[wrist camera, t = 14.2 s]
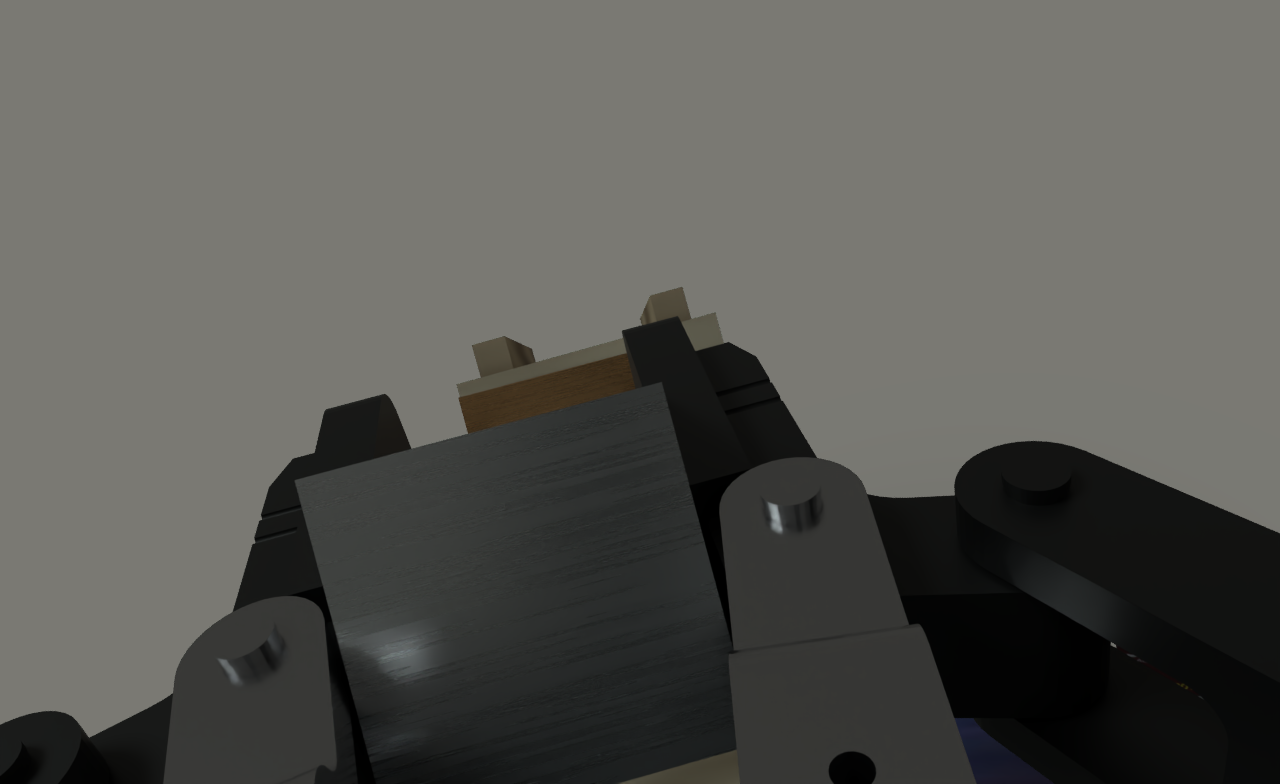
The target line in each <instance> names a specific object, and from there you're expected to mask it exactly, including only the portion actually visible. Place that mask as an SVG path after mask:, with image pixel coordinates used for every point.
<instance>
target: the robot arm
mask: <svg viewBox="0 0 1280 784" xmlns="http://www.w3.org/2000/svg"><path fill="white" fill-rule="evenodd" d="M622 334H623V339H624V344H625V348H626V352H627V356H628V360H629V365H630V369H631V373H632V377H633V381H634V385H635V389H637V388H641V387H645V386H649V385H652V384H656V383H660V382H662V385H663V389H664V393H665V396H666V400H667V404H668V408H669V411H670V415H671V419H672V423H673V426H674V430H675V434H676V437H677V441H678V445H679V449H680V452H681V456H682V460H683V464H684V467H685V471H686V475H687V479H688V482H689V486H690V490H691V494H692V497H693V501H694V505H695V509H696V512H697V516H698V520H699V523H700V527H701V531H702V535H703V538H704V542H705V546H706V550H707V553H708V557H709V561H710V565H711V568H712V572H713V576H714V580H715V583H716V587H717V591H718V595H719V598H720V602H721V606H722V610H723V613H724V617H725V621H726V624H727V628H728V632H729V636H730V639H731V643H732V647H733V650H730V651H729V674H730V684H731V695H732V705H733V715H734V726H735V736H736V747H737V757H738V767H739V778H740V784H976V781H975V778H974V775H973V772H972V769H971V766H970V763H969V760H968V757H967V755H966V752H965V749H964V746H963V743H962V740H961V737H960V734H959V731H958V728H957V725H956V722H955V719H954V718H974V720H975V721H976V723H977V724H978V725H979V726H980V727H981V729H983V730H984V731H985V732H986V733H987V734H988V735H990V736H991V737H992V738H993V739H995V740H996V741H998V742H999V743H1000V744H1002V745H1003V746H1004V747H1006V748H1007V749H1008V750H1010V751H1011V752H1012V753H1014V754H1015V755H1017V756H1018V757H1019V758H1021V759H1022V760H1023V761H1025V762H1026V763H1027V764H1029V765H1030V766H1031V767H1033V768H1034V769H1035V770H1037V771H1038V772H1040V773H1041V774H1042V775H1044V776H1045V777H1046V778H1048V779H1049V780H1050V781H1052V782H1053V783H1054V784H1280V533H1278V532H1275V531H1273V530H1270V529H1268V528H1266V527H1264V526H1261V525H1259V524H1257V523H1254V522H1252V521H1249V520H1247V519H1245V518H1242V517H1240V516H1238V515H1235V514H1233V513H1231V512H1228V511H1226V510H1224V509H1221V508H1219V507H1216V506H1214V505H1212V504H1209V503H1207V502H1205V501H1202V500H1200V499H1198V498H1195V497H1193V496H1190V495H1188V494H1186V493H1183V492H1181V491H1179V490H1176V489H1174V488H1172V487H1169V486H1167V485H1164V484H1162V483H1159V482H1157V481H1155V480H1153V479H1150V478H1147V477H1146V476H1143V475H1141V474H1138V473H1136V472H1134V471H1131V470H1129V469H1127V468H1124V467H1122V466H1120V465H1117V464H1115V463H1112V462H1110V461H1108V460H1105V459H1103V458H1101V457H1098V456H1096V455H1094V454H1091V453H1089V452H1087V451H1084V450H1081V449H1078V448H1075V447H1072V446H1068V445H1064V444H1059V443H1052V442H1042V441H1025V442H1015V443H1008V444H1003V445H1000V446H996V447H993V448H990V449H988V450H985V451H982V452H981V453H979V454H977V455H976V456H974V457H972V458H971V459H970V460H968V461H967V462H966V463H965V464H964V465H963V466H962V468H961V469H960V470H959V472H958V474H957V476H956V479H955V485H954V488H955V496H935V497H917V498H916V497H915V498H889V497H879V496H874V495H868V494H867V493H866V490H865V487H864V485H863V483H862V481H861V480H860V479H859V478H858V476H857V475H856V474H854V473H853V472H852V471H851V470H849V469H848V468H846V467H844V466H842V465H840V464H838V463H835V462H832V461H828V460H824V459H819V458H817V457H816V455H815V454H814V452H813V451H812V449H811V447H810V445H809V444H808V442H807V440H806V439H805V437H804V435H803V434H802V432H801V430H800V429H799V427H798V425H797V424H796V422H795V421H794V419H793V417H792V416H791V414H790V412H789V410H788V409H787V407H786V405H785V404H784V402H783V401H781V399H780V395H779V394H778V392H777V390H776V389H775V387H774V385H773V384H772V383H770V380H769V377H768V375H767V374H766V372H765V370H764V369H763V367H762V365H761V364H760V362H759V360H758V359H757V357H756V356H754V355H752V354H750V353H748V352H747V351H745V350H743V349H741V348H739V347H737V346H735V345H733V344H731V343H729V342H727V343H724V344H720V345H716V346H712V347H709V348H705V349H701V350H697V351H695V349H694V347H693V345H692V343H691V341H690V339H689V337H688V335H687V333H686V331H685V329H684V327H683V325H682V322H681V320H680V319H679V317H678V316H675V317H672V318H668V319H664V320H660V321H657V322H653V323H649V324H645V325H642V326H638V327H634V328H630V329H627V330H623V331H622ZM409 449H411V447H410V444H409V442H408V439H407V436H406V434H405V431H404V429H403V426H402V424H401V421H400V419H399V416H398V414H397V411H396V409H395V407H394V405H393V403H392V401H391V399H390V398H389V397H388V396H387V395H386V394H382V395H379V396H375V397H371V398H367V399H364V400H360V401H356V402H352V403H349V404H345V405H341V406H337V407H334V408H330V409H326V410H325V412H324V415H323V419H322V424H321V428H320V432H319V437H318V441H317V445H316V449H315V453H313V454H309V455H305V456H301V457H298V458H294V459H292V461H291V462H290V463H289V464H288V465H287V467H286V468H285V469H284V470H283V471H282V473H281V474H280V475H279V476H278V477H277V479H276V480H275V481H274V482H273V483H272V485H271V486H270V487H269V489H268V493H267V497H266V500H265V503H264V507H263V510H262V513H261V516H262V520H260V521H259V524H258V527H257V531H256V534H255V537H254V538H255V542H256V543H255V544H253V545H252V548H251V551H250V555H249V558H248V561H247V565H246V568H245V572H244V575H243V579H242V582H241V585H240V589H239V592H238V596H237V599H236V603H235V606H234V609H233V612H232V613H231V614H229V615H227V616H225V617H224V618H222V619H221V620H219V621H218V622H216V623H215V624H213V625H212V626H211V627H210V628H208V629H207V630H206V631H205V632H204V633H203V634H202V635H201V636H200V637H198V639H196V641H195V642H194V643H193V644H192V645H191V646H190V648H189V649H188V650H187V651H186V653H185V655H184V656H183V658H182V659H181V661H180V664H179V666H178V668H177V671H176V675H175V681H174V691H173V694H171V695H170V696H168V697H167V698H165V699H164V700H162V701H160V702H159V703H157V704H155V705H153V706H151V707H149V708H148V709H145V710H144V711H142V712H140V713H138V714H136V715H134V716H132V717H130V718H128V719H126V720H124V721H122V722H120V723H118V724H116V725H114V726H112V727H110V728H108V729H106V730H104V731H102V732H100V733H98V734H96V735H94V736H92V737H90V738H89V737H88V736H87V735H86V733H85V732H84V730H83V729H82V728H81V726H80V725H79V724H78V722H77V721H76V720H75V719H74V718H73V717H72V716H70V715H68V714H66V713H61V712H57V711H44V712H38V713H32V714H28V715H25V716H21V717H18V718H16V719H13V720H10V721H8V722H5V723H3V724H1V725H0V784H376V781H375V778H374V774H373V770H372V767H371V763H370V759H369V755H368V752H367V748H366V744H365V741H364V737H363V733H362V729H361V726H360V722H359V718H358V714H357V711H356V707H355V703H354V700H353V696H352V692H351V688H350V685H349V681H348V677H347V674H346V670H345V666H344V662H343V659H342V655H341V651H340V648H339V644H338V640H337V636H336V633H335V629H334V625H333V621H332V618H331V614H330V610H329V607H328V603H327V599H326V595H325V592H324V588H323V584H322V581H321V577H320V573H319V569H318V566H317V562H316V558H315V555H314V551H313V547H312V543H311V540H310V536H309V532H308V528H307V525H306V521H305V517H304V514H303V510H302V506H301V502H300V499H299V495H298V491H297V488H296V484H295V480H297V479H301V478H305V477H308V476H312V475H316V474H320V473H323V472H327V471H331V470H335V469H338V468H342V467H346V466H350V465H353V464H357V463H361V462H365V461H368V460H372V459H376V458H380V457H383V456H387V455H391V454H394V453H398V452H402V451H406V450H409ZM1111 642H1112V643H1114V644H1115V645H1117V646H1119V647H1121V648H1122V649H1124V650H1126V651H1128V652H1129V653H1131V654H1133V655H1134V656H1136V657H1138V658H1140V659H1141V660H1143V661H1145V662H1147V663H1148V664H1150V665H1152V666H1153V667H1155V668H1157V669H1159V670H1160V671H1162V672H1164V673H1166V674H1167V675H1169V676H1171V677H1172V678H1174V679H1176V680H1178V681H1179V682H1181V683H1183V684H1184V685H1186V686H1187V687H1189V688H1191V689H1192V690H1193V691H1195V692H1196V693H1197V694H1198V695H1200V696H1201V697H1202V698H1203V699H1202V698H1200V697H1199V696H1197V695H1195V694H1194V693H1192V692H1190V691H1188V690H1187V689H1185V688H1183V687H1182V686H1180V685H1178V684H1176V683H1175V682H1173V681H1171V680H1170V679H1168V678H1166V677H1164V676H1163V675H1161V674H1159V673H1158V672H1156V671H1154V670H1152V669H1151V668H1149V667H1147V666H1146V665H1144V664H1142V663H1140V662H1139V661H1137V660H1135V659H1134V658H1132V657H1130V656H1128V655H1127V654H1125V653H1123V652H1122V651H1120V650H1118V649H1116V648H1115V647H1113V646H1111Z"/></svg>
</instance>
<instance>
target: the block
mask: <svg viewBox="0 0 1280 784" xmlns="http://www.w3.org/2000/svg"><path fill="white" fill-rule="evenodd" d="M459 402H460V405H461V409H462V413H463V416H464V420H465V423H466V428H467V431H468V434H465V435H462V436H458V437H454V438H451V439H447V440H443V441H440V442H436V443H432V444H428V445H424V446H421V447H417V448H413V449H409V450H406V451H402V452H398V453H394V454H391V455H387V456H383V457H380V458H376V459H372V460H368V461H365V462H361V463H357V464H353V465H350V466H346V467H342V468H338V469H335V470H331V471H327V472H323V473H320V474H316V475H312V476H308V477H305V478H301V479H297V480H295V484H296V488H297V491H298V495H299V499H300V502H301V506H302V510H303V514H304V517H305V521H306V525H307V528H308V532H309V536H310V540H311V543H312V547H313V551H314V555H315V558H316V562H317V566H318V569H319V573H320V577H321V581H322V584H323V588H324V592H325V595H326V599H327V603H328V607H329V610H330V614H331V618H332V621H333V625H334V629H335V633H336V636H337V640H338V644H339V648H340V651H341V655H342V659H343V662H344V666H345V670H346V674H347V677H348V681H349V685H350V688H351V692H352V696H353V700H354V703H355V707H356V711H357V714H358V718H359V722H360V726H361V729H362V733H363V737H364V741H365V744H366V748H367V752H368V755H369V759H370V763H371V767H372V770H373V774H374V778H375V781H376V784H618V783H622V782H625V781H629V780H632V779H636V778H639V777H643V776H646V775H650V774H653V773H657V772H660V771H664V770H667V769H671V768H674V767H678V766H681V765H685V764H688V763H692V762H695V761H699V760H702V759H706V758H709V757H713V756H716V755H720V754H724V753H727V752H731V751H734V750H737V747H736V736H735V726H734V715H733V705H732V695H731V684H730V674H729V651H730V650H733V647H732V643H731V639H730V636H729V632H728V628H727V624H726V621H725V617H724V613H723V610H722V606H721V602H720V598H719V595H718V591H717V587H716V583H715V580H714V576H713V572H712V568H711V565H710V561H709V557H708V553H707V550H706V546H705V542H704V538H703V535H702V531H701V527H700V523H699V520H698V516H697V512H696V509H695V505H694V501H693V497H692V494H691V490H690V486H689V482H688V479H687V475H686V471H685V467H684V464H683V460H682V456H681V452H680V449H679V445H678V441H677V437H676V434H675V430H674V426H673V423H672V419H671V415H670V411H669V408H668V404H667V400H666V396H665V393H664V389H663V385H662V382H660V383H656V384H652V385H649V386H645V387H641V388H637V389H635V385H634V381H633V377H632V373H631V369H630V365H629V360H628V356H627V353H625V354H621V355H617V356H614V357H610V358H606V359H602V360H599V361H595V362H591V363H587V364H583V365H580V366H576V367H572V368H568V369H565V370H561V371H557V372H553V373H550V374H546V375H542V376H538V377H535V378H531V379H527V380H523V381H520V382H516V383H512V384H508V385H504V386H501V387H497V388H493V389H489V390H486V391H482V392H478V393H474V394H471V395H467V396H463V397H459Z"/></svg>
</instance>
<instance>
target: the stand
mask: <svg viewBox="0 0 1280 784" xmlns="http://www.w3.org/2000/svg"><path fill="white" fill-rule="evenodd" d="M675 316H678V317H679V319H680V320H681V322H682V325H683V327H684V329H685V331H686V333H687V335H688V337H689V339H690V341H691V343H692V345H693V347H694V349H695V351H697V350H701V349H705V348H709V347H712V346H716V345H720V344H724V342H723V339H722V335H721V331H720V327H719V324H718V320H717V317H716V313H712V314H708V315H705V316H701V317H698V318H694V319H691V317H690V313H689V309H688V306H687V302H686V299H685V295H684V291H683V288H682V287H680V288H677V289H673V290H669V291H666V292H662V293H658V294H655V295H651V296H650V297H649V300H648V302H647V304H646V307H645V309H644V311H643V314H642V316H641V318H640V320H641V323H642V325H645V324H649V323H653V322H657V321H660V320H664V319H668V318H672V317H675ZM472 347H473V351H474V354H475V358H476V362H477V365H478V369H479V372H480V376H481V378H478V379H475V380H471V381H467V382H464V383H460V384H457V388H458V391H459V395H460V397H463V396H467V395H471V394H474V393H478V392H482V391H486V390H489V389H493V388H497V387H501V386H504V385H508V384H512V383H516V382H520V381H523V380H527V379H531V378H535V377H538V376H542V375H546V374H550V373H553V372H557V371H561V370H565V369H568V368H572V367H576V366H580V365H583V364H587V363H591V362H595V361H599V360H602V359H606V358H610V357H614V356H617V355H621V354H625V353H627V352H626V348H625V344H624V339H623V338H622V339H618V340H615V341H611V342H607V343H604V344H600V345H597V346H593V347H589V348H586V349H582V350H579V351H575V352H571V353H568V354H564V355H561V356H557V357H553V358H550V359H546V360H543V361H539V362H535V358H534V355H533V352H532V349H531V348H529V347H526V346H524V345H522V344H520V343H518V342H516V341H514V340H511V339H509V338H507V337H505V336H503V337H500V338H496V339H493V340H489V341H485V342H482V343H478V344H475V345H472ZM618 784H740V778H739V767H738V757H737V750H734V751H731V752H727V753H724V754H720V755H716V756H713V757H709V758H706V759H702V760H699V761H695V762H692V763H688V764H685V765H681V766H678V767H674V768H671V769H667V770H664V771H660V772H657V773H653V774H650V775H646V776H643V777H639V778H636V779H632V780H629V781H625V782H622V783H618Z"/></svg>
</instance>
